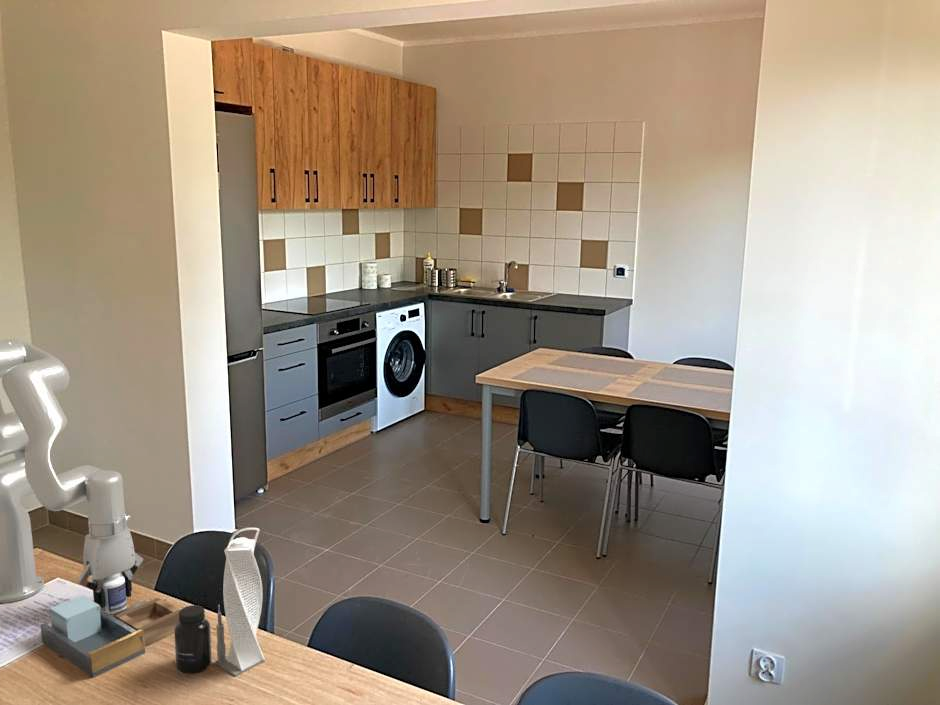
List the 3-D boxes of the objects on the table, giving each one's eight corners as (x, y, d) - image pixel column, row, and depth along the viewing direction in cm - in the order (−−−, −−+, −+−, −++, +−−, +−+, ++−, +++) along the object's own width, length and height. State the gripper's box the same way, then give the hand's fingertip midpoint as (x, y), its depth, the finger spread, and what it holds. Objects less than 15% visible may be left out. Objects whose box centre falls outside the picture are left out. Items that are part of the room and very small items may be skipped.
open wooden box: (106, 626, 169) (105, 609, 168) (148, 608, 177) (147, 592, 176) (142, 648, 161) (140, 630, 160) (184, 628, 169) (183, 611, 168)
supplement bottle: (178, 679, 151) (175, 622, 148) (174, 661, 156) (170, 606, 154) (214, 669, 154) (211, 614, 152) (209, 652, 160) (206, 599, 157)
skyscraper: (251, 645, 162) (245, 520, 157) (274, 660, 157) (269, 531, 152) (215, 663, 156) (208, 533, 151) (238, 678, 151) (231, 545, 146)
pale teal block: (51, 634, 164) (49, 608, 163) (85, 620, 170) (82, 595, 169) (68, 645, 160) (66, 619, 159) (102, 630, 165) (100, 605, 164)
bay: (42, 641, 163) (39, 620, 162) (92, 620, 172) (91, 599, 171) (93, 677, 151) (91, 654, 150) (145, 652, 159) (143, 630, 158)
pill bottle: (131, 604, 179) (128, 564, 177) (119, 615, 174) (115, 575, 172) (109, 602, 179) (106, 563, 178) (96, 614, 174) (93, 574, 172)
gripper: (134, 510, 182) (139, 581, 185) (60, 534, 168) (67, 610, 172) (152, 518, 177) (157, 591, 181) (78, 543, 164) (84, 621, 167)
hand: (113, 599), depth 176 cm, fingers closed on pill bottle, 5 cm apart
